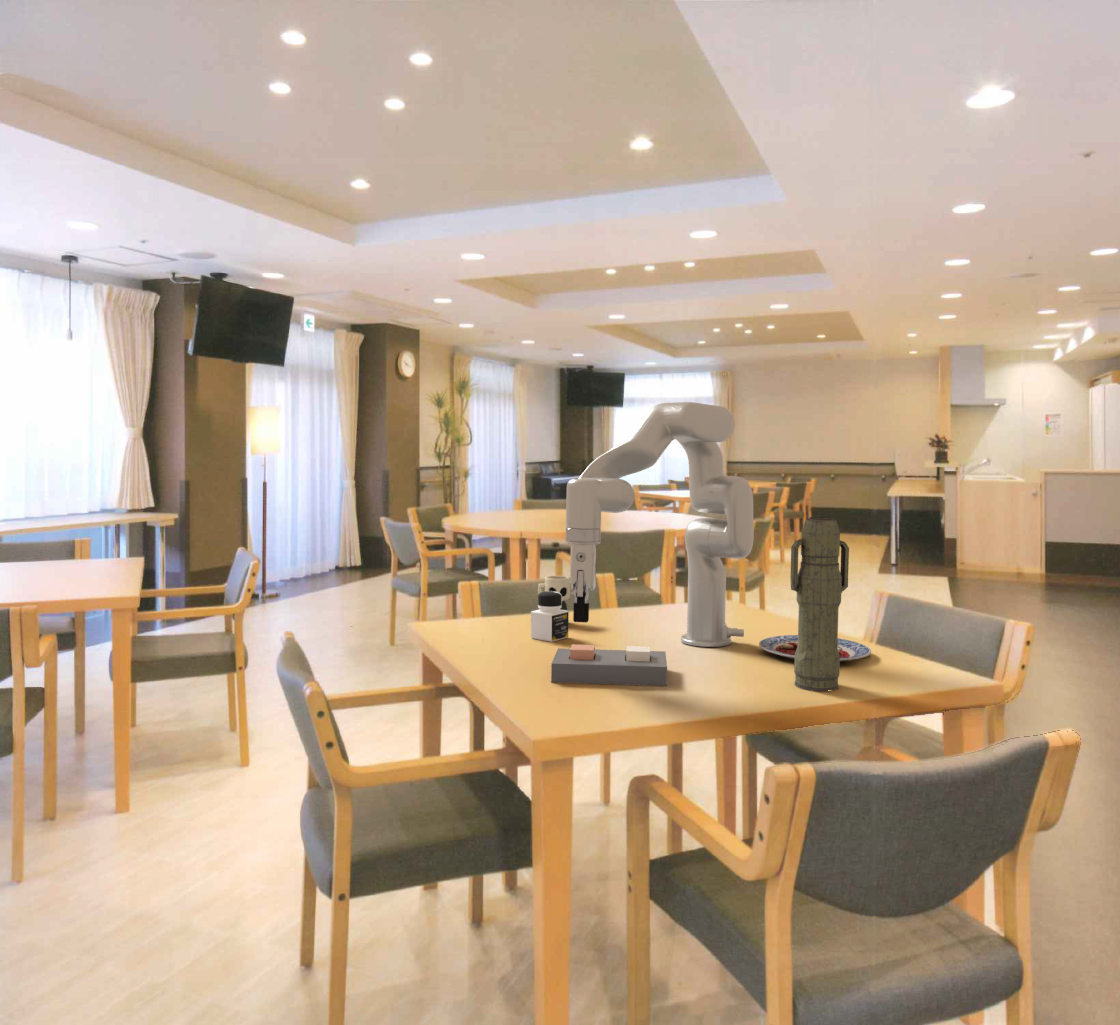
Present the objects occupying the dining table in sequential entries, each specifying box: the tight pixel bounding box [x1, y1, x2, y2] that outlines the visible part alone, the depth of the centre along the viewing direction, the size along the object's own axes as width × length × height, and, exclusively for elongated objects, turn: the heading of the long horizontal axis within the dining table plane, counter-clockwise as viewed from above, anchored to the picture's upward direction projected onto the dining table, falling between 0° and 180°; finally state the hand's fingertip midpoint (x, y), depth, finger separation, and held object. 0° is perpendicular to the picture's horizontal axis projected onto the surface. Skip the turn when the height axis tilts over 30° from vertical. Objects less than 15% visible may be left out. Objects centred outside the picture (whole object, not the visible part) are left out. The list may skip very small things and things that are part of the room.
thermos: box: [790, 516, 850, 692], centre depth 178 cm, size 9×12×35 cm
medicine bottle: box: [530, 590, 569, 643], centre depth 223 cm, size 7×7×12 cm
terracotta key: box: [569, 643, 596, 660], centre depth 187 cm, size 5×5×3 cm
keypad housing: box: [550, 647, 668, 687], centre depth 186 cm, size 24×14×4 cm, turn 85°
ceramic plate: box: [758, 634, 872, 663], centre depth 207 cm, size 26×26×3 cm
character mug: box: [537, 575, 575, 611], centre depth 243 cm, size 11×7×13 cm, turn 93°
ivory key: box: [626, 645, 651, 662], centre depth 185 cm, size 5×5×3 cm
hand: (580, 621), depth 186 cm, fingers closed
